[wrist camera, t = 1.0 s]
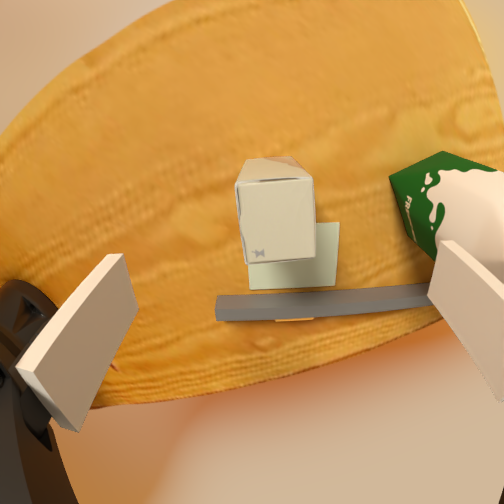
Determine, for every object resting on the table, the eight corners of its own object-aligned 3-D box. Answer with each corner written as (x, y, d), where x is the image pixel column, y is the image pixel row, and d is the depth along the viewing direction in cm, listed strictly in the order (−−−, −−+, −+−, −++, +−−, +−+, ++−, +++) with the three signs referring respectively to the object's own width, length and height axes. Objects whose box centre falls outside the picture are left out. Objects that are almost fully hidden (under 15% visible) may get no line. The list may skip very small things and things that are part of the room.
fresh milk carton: (463, 212, 27) (590, 313, 8) (401, 246, 29) (511, 388, 10) (445, 139, 23) (610, 200, 5) (375, 171, 25) (535, 279, 7)
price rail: (219, 310, 32) (217, 324, 30) (217, 295, 31) (214, 309, 29) (433, 295, 31) (442, 306, 29) (437, 281, 30) (446, 292, 28)
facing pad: (249, 288, 31) (249, 289, 31) (245, 225, 28) (245, 226, 28) (334, 284, 31) (334, 285, 30) (339, 222, 28) (339, 222, 27)
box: (295, 208, 27) (317, 264, 17) (249, 212, 27) (243, 270, 17) (292, 152, 25) (314, 175, 15) (243, 156, 25) (232, 182, 15)
